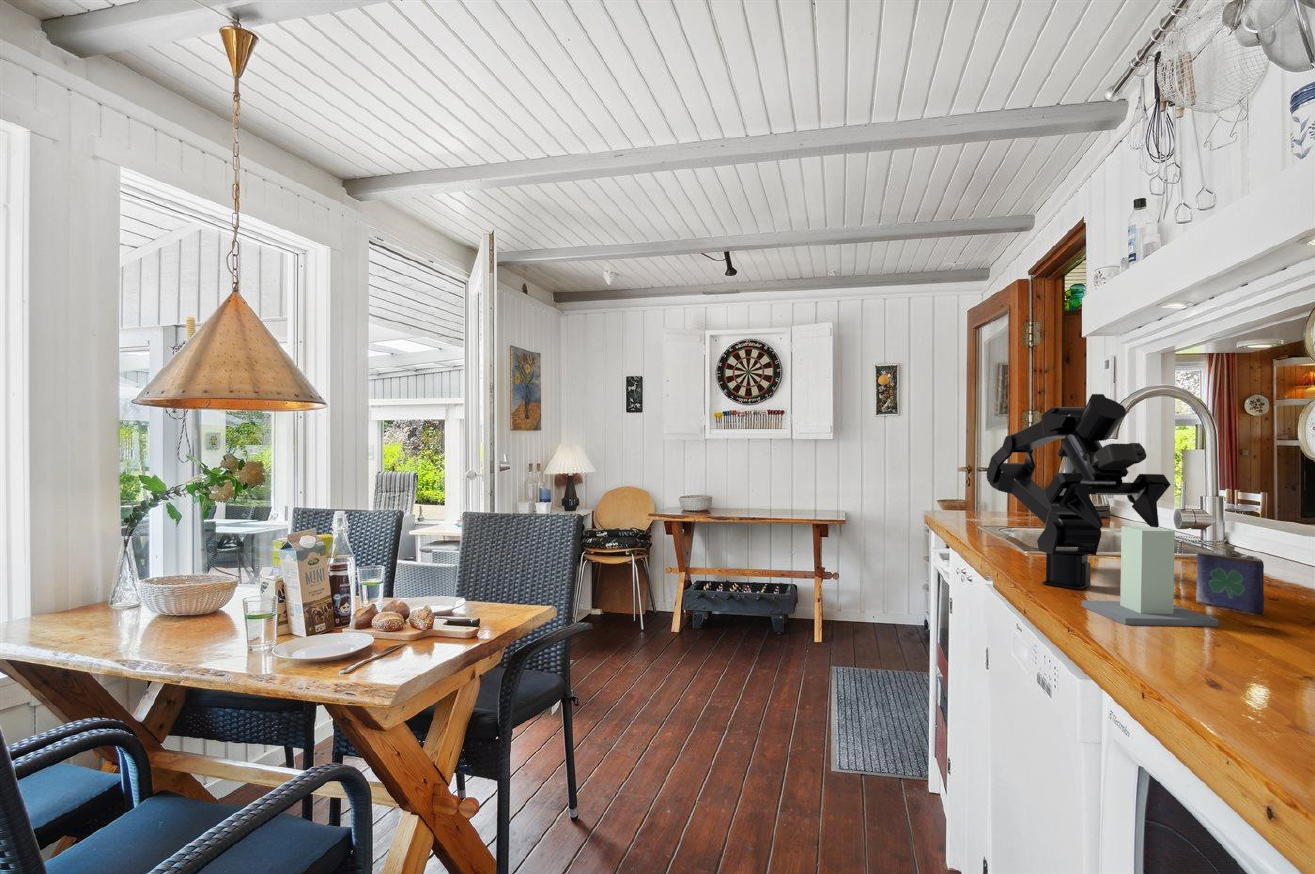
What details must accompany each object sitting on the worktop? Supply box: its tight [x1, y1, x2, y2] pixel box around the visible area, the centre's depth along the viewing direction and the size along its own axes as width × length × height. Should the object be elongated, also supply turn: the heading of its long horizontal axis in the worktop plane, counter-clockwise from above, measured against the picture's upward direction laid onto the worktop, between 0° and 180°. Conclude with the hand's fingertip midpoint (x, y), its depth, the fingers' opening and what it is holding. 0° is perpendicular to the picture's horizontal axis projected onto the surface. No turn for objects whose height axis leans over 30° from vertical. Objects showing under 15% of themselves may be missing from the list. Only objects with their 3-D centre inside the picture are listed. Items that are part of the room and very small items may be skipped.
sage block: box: [1119, 525, 1176, 614], centre depth 110 cm, size 5×5×13 cm
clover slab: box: [1195, 544, 1265, 617], centre depth 115 cm, size 9×3×11 cm, turn 28°
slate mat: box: [1081, 600, 1219, 627], centre depth 110 cm, size 11×14×1 cm
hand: (1128, 527), depth 115 cm, fingers open, 9 cm apart
